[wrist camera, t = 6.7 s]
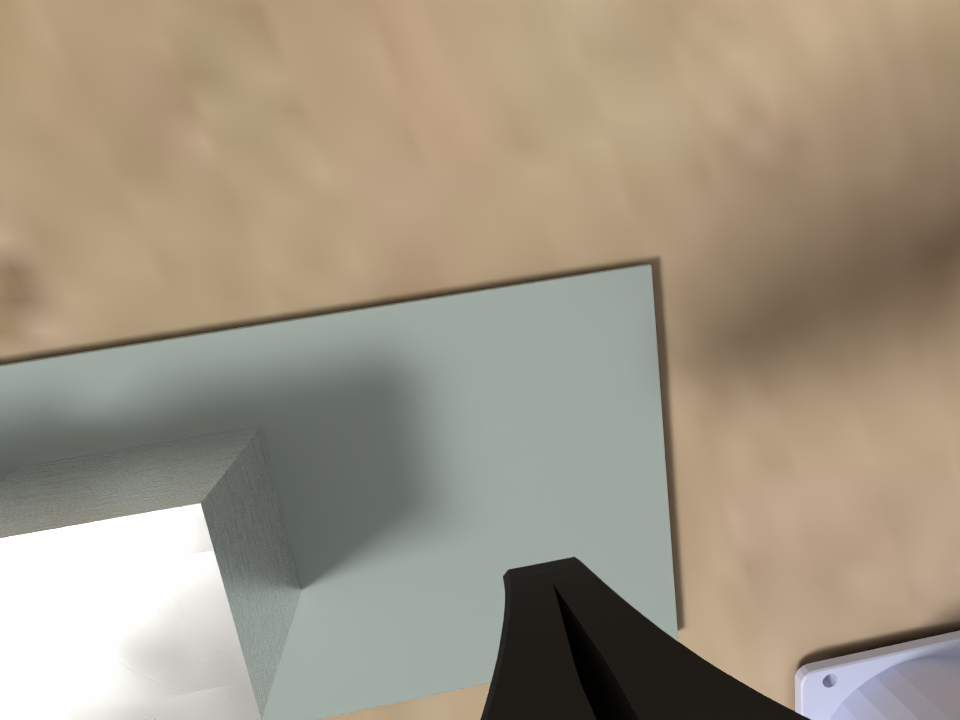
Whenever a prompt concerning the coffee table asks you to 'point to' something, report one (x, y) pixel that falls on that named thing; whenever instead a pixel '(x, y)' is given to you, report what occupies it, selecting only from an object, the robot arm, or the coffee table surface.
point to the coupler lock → (145, 583)
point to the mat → (406, 463)
